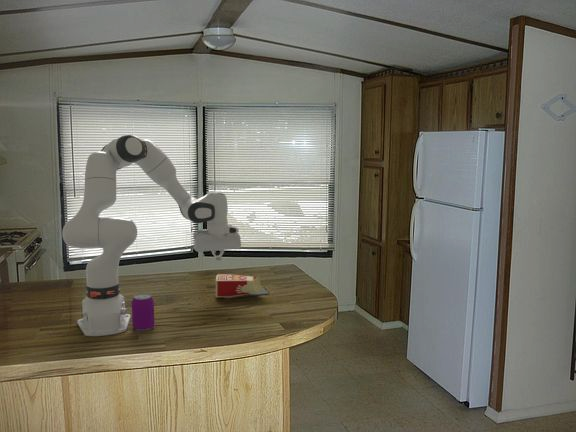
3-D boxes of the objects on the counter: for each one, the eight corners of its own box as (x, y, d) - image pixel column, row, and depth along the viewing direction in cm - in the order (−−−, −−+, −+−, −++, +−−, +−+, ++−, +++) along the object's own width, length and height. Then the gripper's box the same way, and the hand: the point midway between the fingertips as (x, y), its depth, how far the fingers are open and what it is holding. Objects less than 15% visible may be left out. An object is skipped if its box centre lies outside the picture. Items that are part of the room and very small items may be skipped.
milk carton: (218, 291, 232) (263, 292, 233) (215, 298, 223) (262, 298, 223) (217, 271, 231) (263, 272, 231) (215, 277, 222) (262, 278, 222)
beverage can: (146, 322, 195) (145, 291, 193) (158, 327, 190) (158, 295, 188) (128, 328, 189) (127, 296, 187) (141, 333, 185) (139, 300, 183)
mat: (269, 294, 231) (269, 293, 231) (224, 298, 224) (224, 297, 224) (258, 284, 246) (258, 283, 246) (216, 288, 239) (216, 287, 239)
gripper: (195, 231, 220) (195, 263, 222) (242, 228, 227) (242, 259, 229) (192, 228, 225) (192, 260, 228) (238, 226, 233) (238, 256, 235)
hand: (217, 260), depth 228 cm, fingers closed
